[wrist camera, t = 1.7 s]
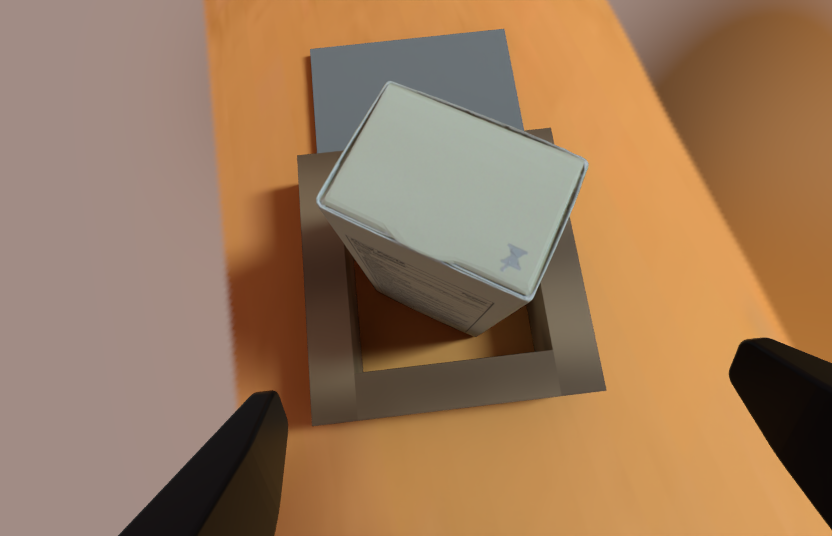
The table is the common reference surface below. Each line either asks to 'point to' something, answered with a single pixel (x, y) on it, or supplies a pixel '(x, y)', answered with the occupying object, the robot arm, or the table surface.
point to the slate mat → (411, 79)
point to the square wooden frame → (443, 382)
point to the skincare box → (450, 207)
